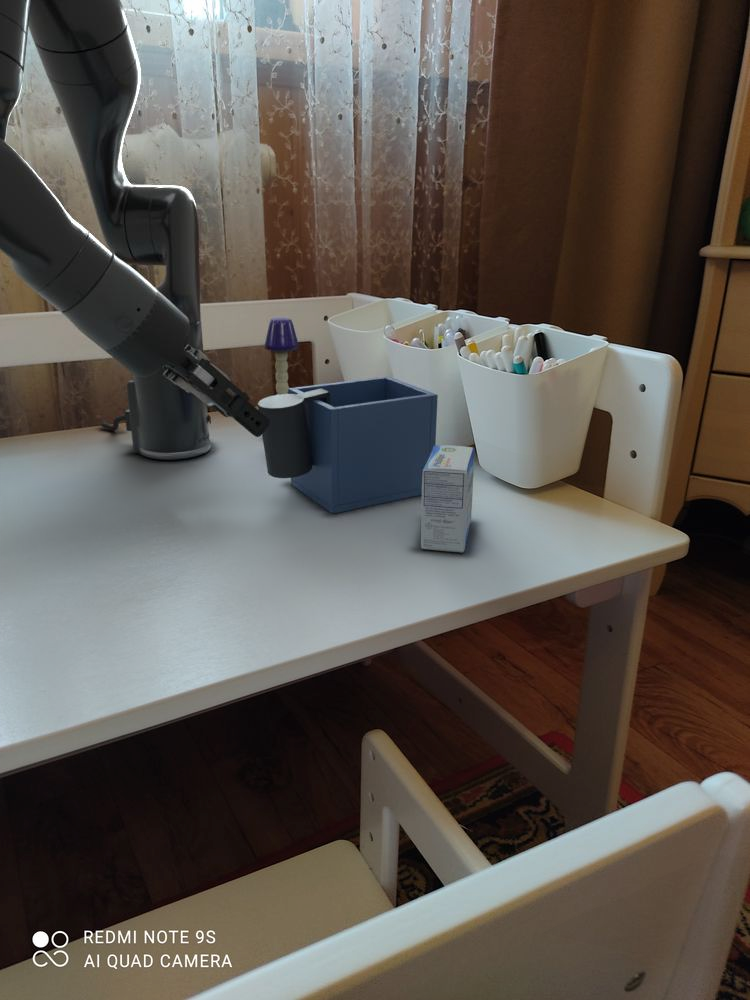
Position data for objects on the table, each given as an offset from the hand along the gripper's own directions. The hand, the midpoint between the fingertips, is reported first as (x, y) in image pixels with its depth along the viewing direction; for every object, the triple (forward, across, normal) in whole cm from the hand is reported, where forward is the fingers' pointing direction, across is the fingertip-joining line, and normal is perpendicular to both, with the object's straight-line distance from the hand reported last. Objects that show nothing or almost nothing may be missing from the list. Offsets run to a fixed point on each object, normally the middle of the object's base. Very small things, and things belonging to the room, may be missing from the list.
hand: (247, 419), depth 81 cm
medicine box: (+18, -16, -3) cm, 24 cm away
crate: (+17, 0, -3) cm, 17 cm away
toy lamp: (+18, +23, -3) cm, 30 cm away
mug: (+9, 0, 0) cm, 9 cm away
